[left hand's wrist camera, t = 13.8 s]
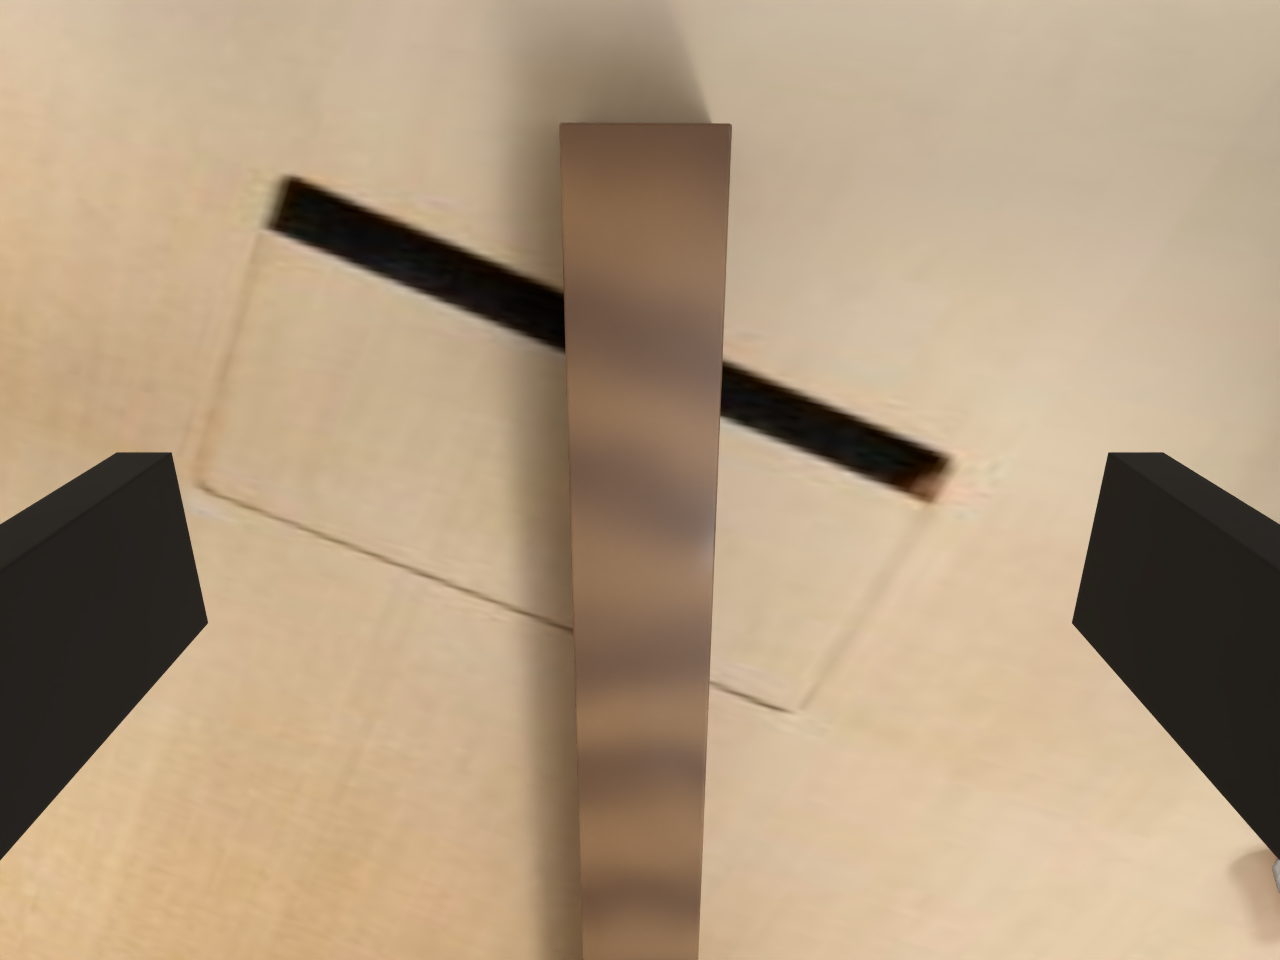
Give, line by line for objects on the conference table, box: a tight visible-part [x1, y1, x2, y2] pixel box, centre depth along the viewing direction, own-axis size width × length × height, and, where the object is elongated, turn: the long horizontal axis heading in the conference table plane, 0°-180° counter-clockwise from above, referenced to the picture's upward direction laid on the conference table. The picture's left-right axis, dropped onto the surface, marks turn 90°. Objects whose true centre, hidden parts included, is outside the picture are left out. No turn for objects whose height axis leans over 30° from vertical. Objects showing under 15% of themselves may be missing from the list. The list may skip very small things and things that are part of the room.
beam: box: [559, 123, 732, 960], centre depth 44 cm, size 67×6×8 cm, turn 0°
